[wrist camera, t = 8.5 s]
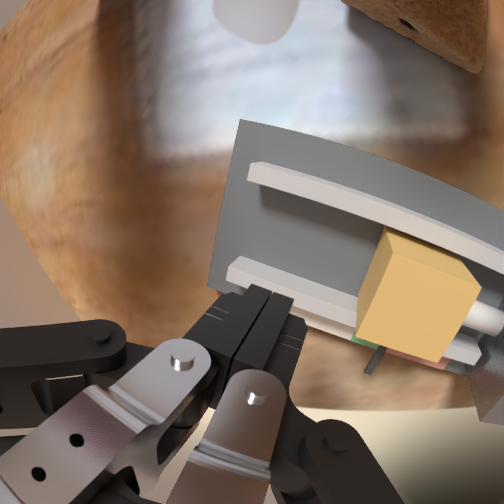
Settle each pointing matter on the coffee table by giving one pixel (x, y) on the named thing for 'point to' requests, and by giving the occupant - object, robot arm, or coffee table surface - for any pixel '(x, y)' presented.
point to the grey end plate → (489, 377)
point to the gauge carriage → (418, 299)
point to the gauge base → (342, 229)
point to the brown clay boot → (436, 26)
